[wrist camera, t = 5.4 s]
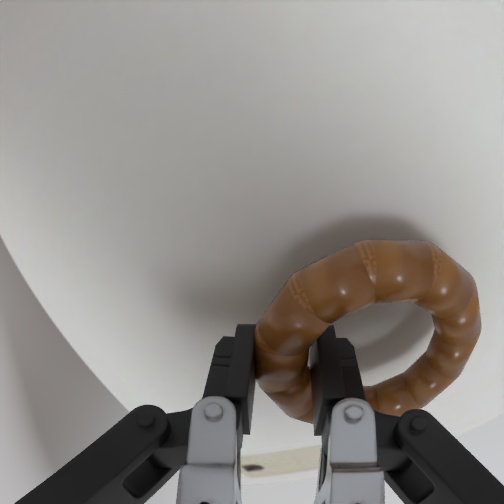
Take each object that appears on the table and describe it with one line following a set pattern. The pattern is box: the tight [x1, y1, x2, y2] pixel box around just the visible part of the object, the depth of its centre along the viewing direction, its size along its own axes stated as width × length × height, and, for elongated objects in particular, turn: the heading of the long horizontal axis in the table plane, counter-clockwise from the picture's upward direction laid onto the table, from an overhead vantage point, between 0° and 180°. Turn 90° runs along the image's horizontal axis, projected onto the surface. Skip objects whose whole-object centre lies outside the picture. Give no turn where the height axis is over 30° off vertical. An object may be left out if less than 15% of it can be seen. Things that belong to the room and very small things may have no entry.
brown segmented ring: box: [254, 240, 481, 424], centre depth 11 cm, size 9×9×2 cm
